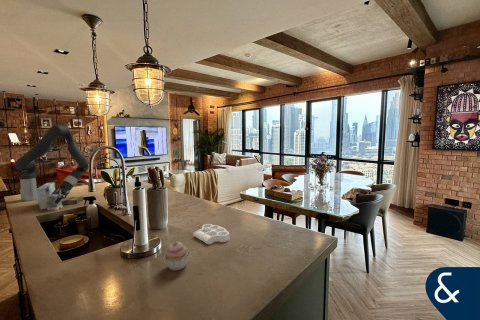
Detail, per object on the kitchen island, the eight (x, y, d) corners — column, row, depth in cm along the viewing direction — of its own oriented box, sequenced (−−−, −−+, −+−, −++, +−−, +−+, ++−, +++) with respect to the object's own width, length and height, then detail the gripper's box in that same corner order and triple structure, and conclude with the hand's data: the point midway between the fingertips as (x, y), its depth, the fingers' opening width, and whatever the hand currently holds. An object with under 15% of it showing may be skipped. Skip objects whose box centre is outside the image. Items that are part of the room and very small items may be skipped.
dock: (56, 205, 172) (55, 200, 171) (64, 201, 182) (63, 197, 181) (77, 203, 174) (76, 199, 173) (83, 200, 184) (83, 196, 183)
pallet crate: (47, 210, 159) (46, 196, 158) (53, 207, 165) (51, 193, 164) (57, 209, 160) (55, 195, 159) (62, 207, 166) (61, 193, 165)
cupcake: (159, 266, 88) (158, 241, 87) (181, 257, 95) (180, 233, 94) (172, 277, 82) (170, 249, 81) (194, 266, 88) (193, 240, 87)
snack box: (48, 202, 180) (46, 182, 178) (57, 201, 182) (55, 182, 181) (38, 210, 161) (35, 188, 159) (48, 208, 163) (46, 187, 162)
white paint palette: (189, 236, 116) (213, 227, 125) (211, 248, 102) (236, 238, 112) (189, 229, 115) (213, 221, 125) (210, 241, 102) (236, 231, 112)
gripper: (58, 179, 170) (41, 198, 161) (70, 180, 164) (53, 201, 155) (67, 185, 176) (51, 204, 167) (78, 186, 169) (62, 206, 160)
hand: (52, 202), depth 161 cm, fingers open, 8 cm apart
